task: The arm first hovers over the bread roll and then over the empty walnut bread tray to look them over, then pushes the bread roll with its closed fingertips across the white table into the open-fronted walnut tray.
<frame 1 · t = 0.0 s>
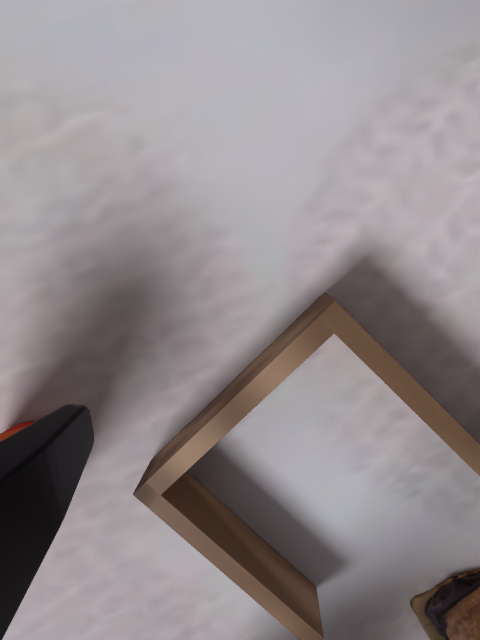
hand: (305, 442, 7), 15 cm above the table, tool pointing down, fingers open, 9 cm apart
bread tray: (319, 463, 24), on the table
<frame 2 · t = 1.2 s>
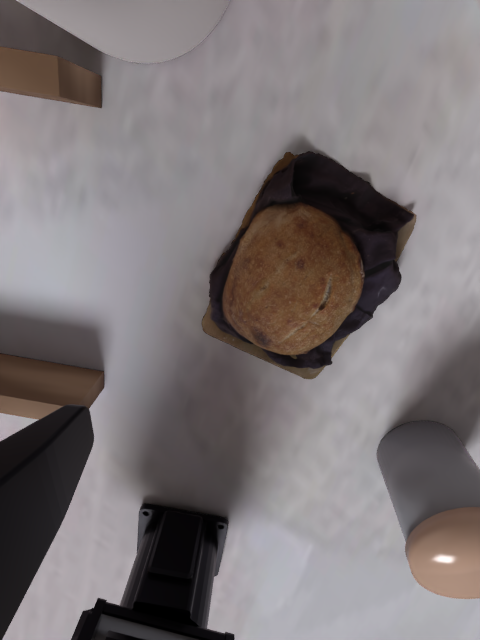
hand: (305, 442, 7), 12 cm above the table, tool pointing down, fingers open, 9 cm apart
bread roll: (299, 273, 19), on the table
grey sugar pot: (417, 452, 23), on the table
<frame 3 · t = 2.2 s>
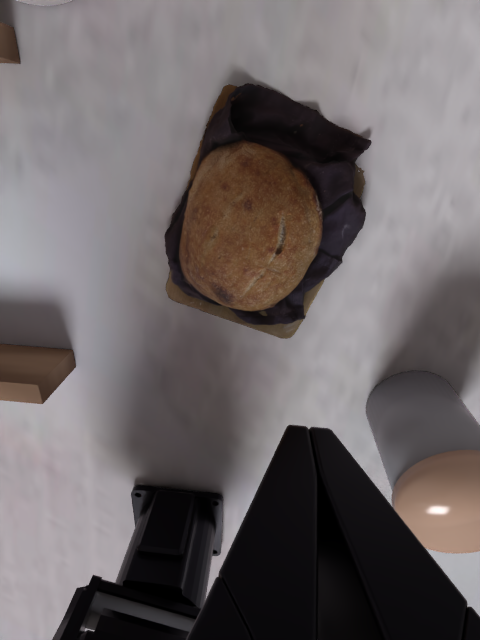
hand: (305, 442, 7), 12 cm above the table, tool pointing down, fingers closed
bread roll: (261, 225, 18), on the table
grey sugar pot: (409, 406, 21), on the table
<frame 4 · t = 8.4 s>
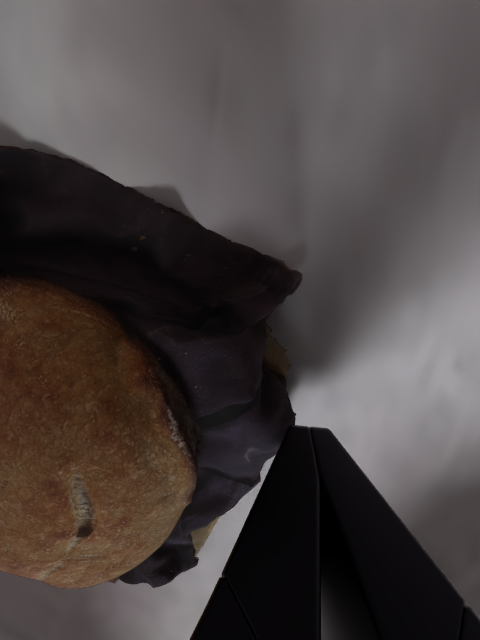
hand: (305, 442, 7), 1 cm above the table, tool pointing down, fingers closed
bread roll: (113, 392, 10), on the table, touching gripper
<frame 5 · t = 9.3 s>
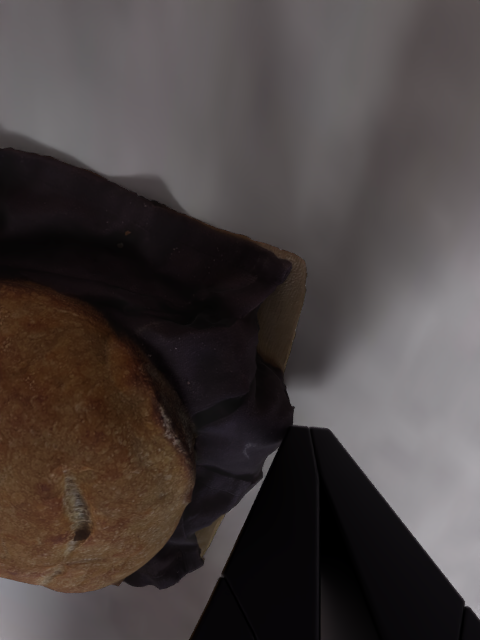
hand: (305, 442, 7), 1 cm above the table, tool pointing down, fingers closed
bread roll: (110, 393, 9), on the table
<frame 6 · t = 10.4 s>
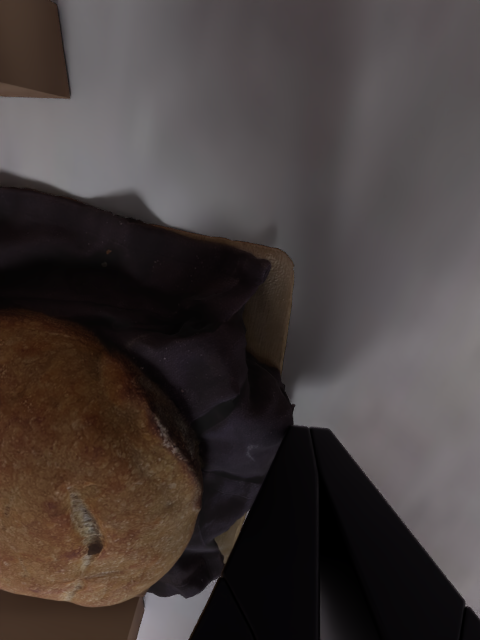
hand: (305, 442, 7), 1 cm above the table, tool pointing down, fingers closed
bread roll: (119, 409, 10), on the table
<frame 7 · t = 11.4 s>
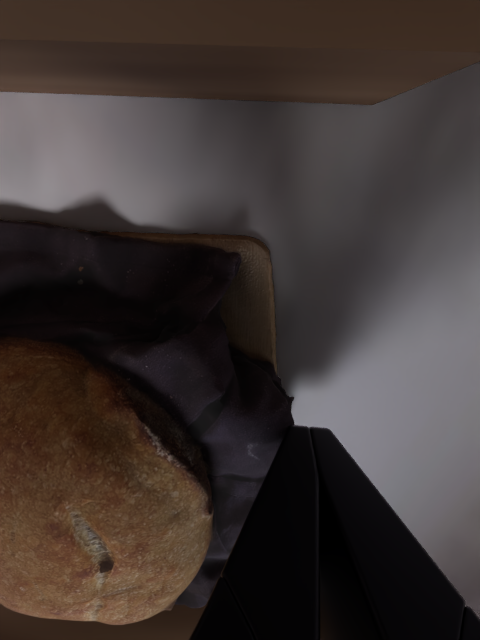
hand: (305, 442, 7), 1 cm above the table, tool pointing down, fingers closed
bread tray: (32, 418, 9), on the table
bread roll: (126, 424, 10), on the table, touching gripper
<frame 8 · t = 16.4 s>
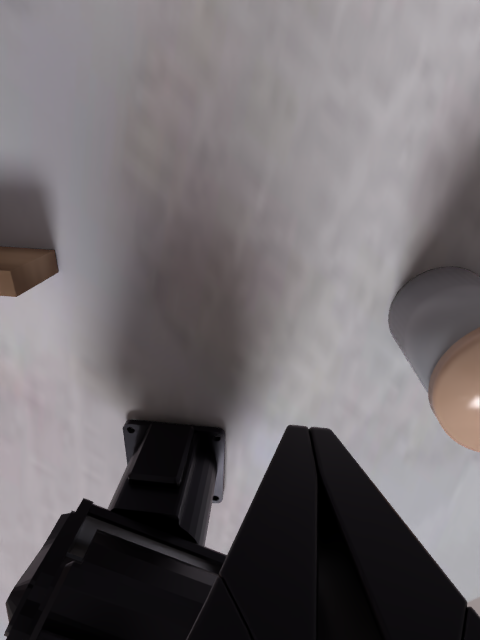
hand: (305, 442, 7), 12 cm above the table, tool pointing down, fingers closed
grey sugar pot: (439, 313, 19), on the table
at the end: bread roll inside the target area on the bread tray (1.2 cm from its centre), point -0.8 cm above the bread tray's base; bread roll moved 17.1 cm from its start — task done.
